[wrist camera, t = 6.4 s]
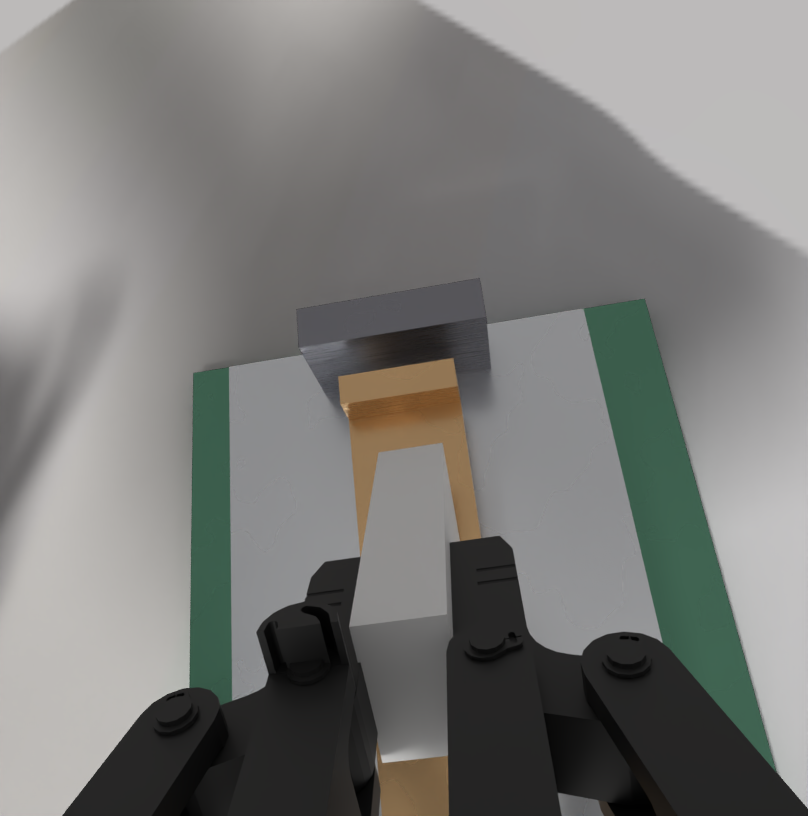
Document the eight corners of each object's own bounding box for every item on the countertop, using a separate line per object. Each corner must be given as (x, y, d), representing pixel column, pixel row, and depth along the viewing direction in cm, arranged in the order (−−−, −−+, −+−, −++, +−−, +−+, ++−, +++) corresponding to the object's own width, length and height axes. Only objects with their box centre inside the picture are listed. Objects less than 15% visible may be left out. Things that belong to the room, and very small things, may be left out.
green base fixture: (848, 1058, 19) (1047, 1252, 12) (193, 1107, 20) (10, 1305, 13) (642, 307, 28) (682, 155, 21) (199, 379, 30) (93, 262, 22)
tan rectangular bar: (547, 976, 16) (551, 1014, 14) (407, 988, 16) (390, 1027, 14) (460, 395, 22) (453, 357, 19) (356, 411, 22) (338, 376, 20)
